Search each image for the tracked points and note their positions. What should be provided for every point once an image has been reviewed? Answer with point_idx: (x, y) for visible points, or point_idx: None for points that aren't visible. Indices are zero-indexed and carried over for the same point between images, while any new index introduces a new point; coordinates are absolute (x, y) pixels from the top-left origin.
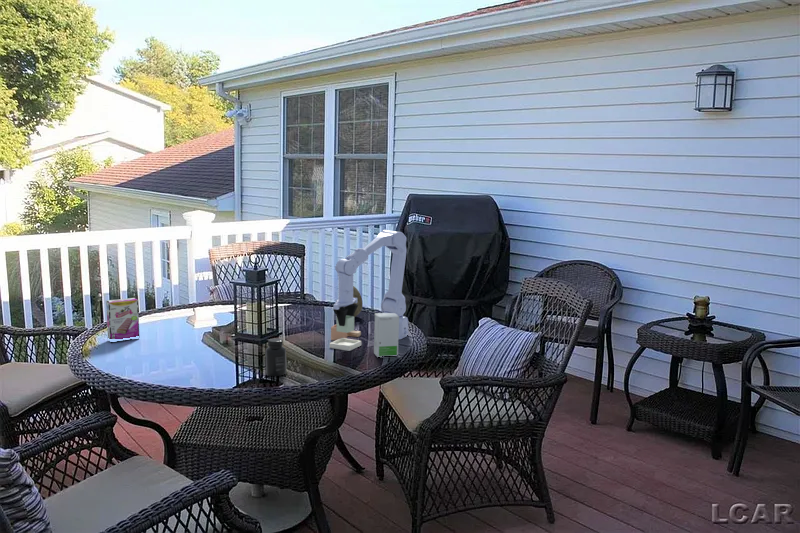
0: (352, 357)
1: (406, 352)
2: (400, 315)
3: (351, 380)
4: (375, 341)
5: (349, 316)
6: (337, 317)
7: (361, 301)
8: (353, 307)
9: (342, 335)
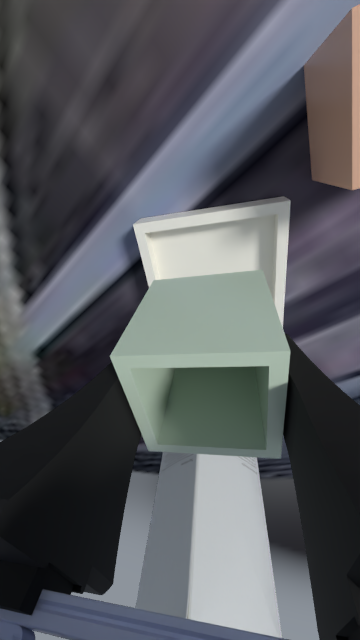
0: None
1: (272, 459)
2: None
3: (6, 436)
4: (176, 463)
5: (266, 420)
6: (79, 395)
7: None
8: (318, 597)
9: (326, 182)
